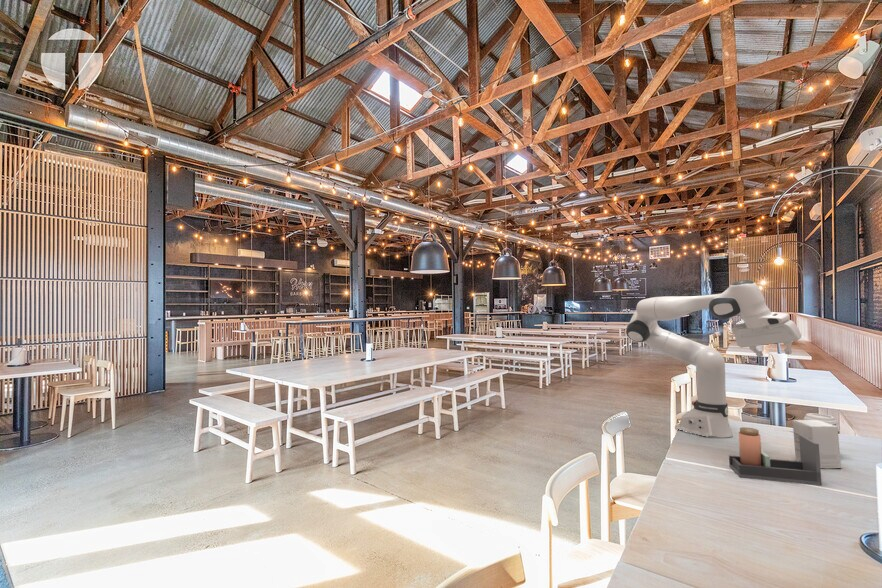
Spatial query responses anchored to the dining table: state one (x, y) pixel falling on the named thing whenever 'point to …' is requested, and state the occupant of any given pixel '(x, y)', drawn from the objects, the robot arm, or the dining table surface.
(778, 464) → the tray
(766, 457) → the pusher plate
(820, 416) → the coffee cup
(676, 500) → the dining table surface
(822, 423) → the supplement box
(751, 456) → the jar
